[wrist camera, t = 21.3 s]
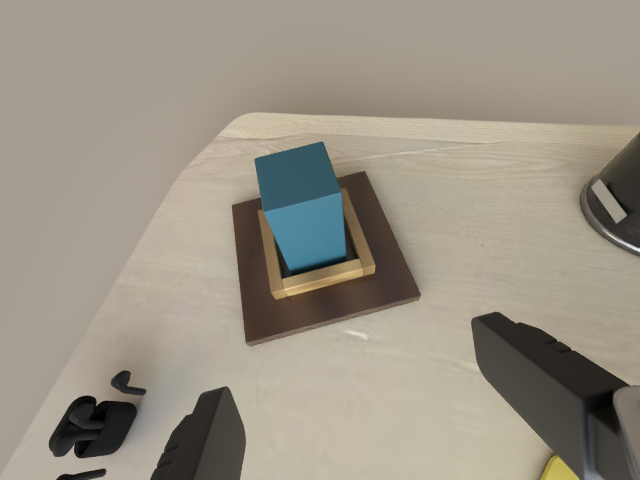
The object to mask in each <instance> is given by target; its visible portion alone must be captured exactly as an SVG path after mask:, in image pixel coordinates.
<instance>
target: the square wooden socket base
mask: <svg viewBox="0 0 640 480" xmlns="http://www.w3.org/2000/svg"><path fill="white" fill-rule="evenodd" d="M337 181H338V184H339V186H340V189H341V192H342V203H343V217H344V232H345V246H346V262H342V263H339V264H335V265H331V266H327V267H323V268H320V269H316V270H312V271H308V272H305V273H301V274H297V275H293V276H292V275H291V272H290V270H289V268H288V266H287V263H286V261H285V259H284V257H283V255H282V252H281V250H280V248H279V246H278V244H277V241H276V239H275V237H274V235H273V232H272V230H271V228H270V226H269V224H268V221H267V219H266V217H265V215H264V212H263V207H262V201H261V198H258V199H254V200H251V201H247V202H243V203H239V204H235V205H232V212H233V222H234V232H235V241H236V251H237V261H238V271H239V281H240V291H241V300H242V310H243V320H244V330H245V340H246V344H247V345H249V346H253V345H257V344H260V343H264V342H267V341H271V340H275V339H278V338H282V337H286V336H289V335H293V334H297V333H300V332H304V331H308V330H311V329H315V328H319V327H322V326H326V325H329V324H333V323H337V322H340V321H344V320H348V319H351V318H355V317H359V316H362V315H366V314H370V313H373V312H377V311H381V310H384V309H388V308H391V307H395V306H399V305H402V304H406V303H410V302H413V301H417V300H419V299H420V297H421V295H420V292H419V290H418V288H417V286H416V283H415V281H414V279H413V277H412V275H411V272H410V270H409V268H408V266H407V264H406V261H405V259H404V257H403V255H402V252H401V250H400V248H399V246H398V244H397V241H396V239H395V237H394V235H393V233H392V230H391V228H390V226H389V224H388V221H387V219H386V217H385V215H384V213H383V210H382V208H381V206H380V204H379V202H378V199H377V197H376V195H375V193H374V190H373V188H372V186H371V184H370V182H369V179H368V177H367V175H366V173H365V171H363V172H359V173H355V174H352V175H348V176H344V177H340V178H337Z"/></svg>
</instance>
